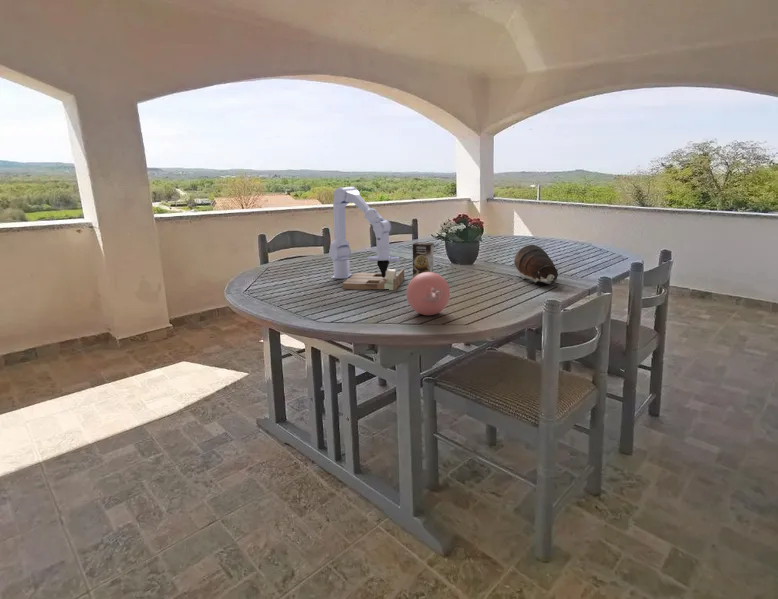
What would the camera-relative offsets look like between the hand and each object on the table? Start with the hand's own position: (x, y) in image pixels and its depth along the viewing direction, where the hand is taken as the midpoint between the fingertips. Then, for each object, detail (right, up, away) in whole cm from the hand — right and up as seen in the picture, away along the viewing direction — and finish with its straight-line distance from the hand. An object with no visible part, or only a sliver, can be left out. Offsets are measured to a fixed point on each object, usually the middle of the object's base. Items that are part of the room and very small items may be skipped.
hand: (383, 277), depth 208 cm
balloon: (+17, -16, -47) cm, 52 cm away
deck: (-4, -3, +2) cm, 6 cm away
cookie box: (+19, +1, +15) cm, 24 cm away
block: (+3, -1, -1) cm, 3 cm away
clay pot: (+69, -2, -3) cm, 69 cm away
